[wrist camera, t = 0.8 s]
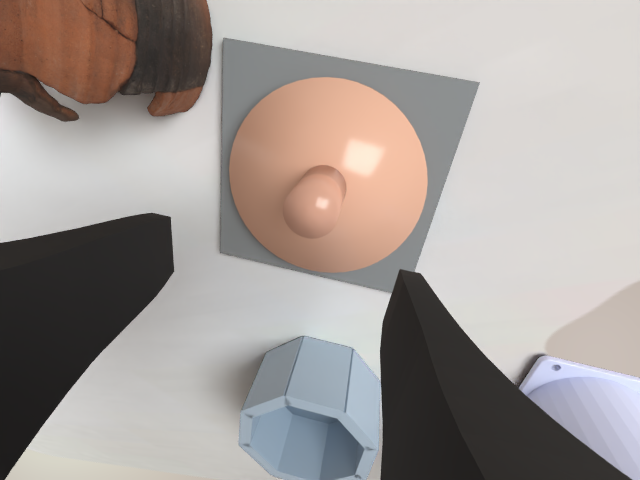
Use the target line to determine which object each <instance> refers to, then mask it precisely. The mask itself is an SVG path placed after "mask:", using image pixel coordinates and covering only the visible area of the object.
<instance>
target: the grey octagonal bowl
mask: <svg viewBox="0 0 640 480" xmlns="http://www.w3.org/2000/svg"><path fill="white" fill-rule="evenodd" d="M379 415H380V381H379V379H378V378H377V377H376V376H375V374H374V373H373V372H372V371H371V370H370V368H369V367H368V366H367V365H366V363H365V362H364V361H363V360H362V358H361V357H360V356H359V355H358V354H357V352H356V351H355V350H354V349H352V348H350V347H346V346H342V345H338V344H334V343H330V342H326V341H322V340H318V339H314V338H310V337H306V336H304V337H303V336H302V337H299V338H297V339H295V340H293V341H290V342H288V343H286V344H284V345H281V346H279V347H277V348H275V349H272V350H270V351H268V352H267V353H266V354H265V357H264V359H263V361H262V363H261V366H260V368H259V370H258V373H257V375H256V377H255V380H254V382H253V384H252V387H251V389H250V391H249V394H248V396H247V398H246V401H245V403H244V405H243V408H242V410H241V414H240V429H239V446H240V447H241V448H242V449H243V450H244V451H245V452H247V453H248V454H249V455H250V456H251V457H252V458H253V459H254V460H255V461H256V462H257V463H258V464H259V465H260V466H262V467H263V468H264V469H265V470H266V471H267V472H268V473H269V474H270V475H273V476H274V477H277V478H281V479H284V480H367V477H368V475H369V472H370V470H371V467H372V465H373V463H374V460H375V458H376V455H377V453H378V450H379Z"/></svg>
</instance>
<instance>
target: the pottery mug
mask: <svg viewBox="0 0 640 480" xmlns="http://www.w3.org/2000/svg"><path fill="white" fill-rule="evenodd" d="M211 49H212V27H211V23H210V14H209V9H208V5H207V1H206V0H0V95H1V93H11V94H13V95H14V96H16V97H17V98H19V99H20V100H21V101H22V102H24V103H25V104H27V105H28V106H31V107H32V108H34V109H35V110H37V111H39V112H41V113H44V114H47V115H49V116H52V117H55V118H57V119H59V120H61V121H65V122H67V121H76V120H78V119H79V116H78V114H77V113H76V112H75V111H73V110H71V109H69V108H67V107H65V106H62V105H60V104H59V103H58V101H57V100H55V99H54V98H53V97H51V96H50V95H49V94H48V93H47V91H46V90H45V89H44V88H43V87H42V85H41V84H40V82H39V81H38V80H40V81H41V82H43V83H44V84H45V85H47V86H50V87H52V88H54V89H56V90H57V91H58V92H60V93H62V94H64V95H66V96H68V97H70V98H73V99H74V100H76V101H78V102H80V103H83V104H89V103H93V104H99V103H105V102H107V101H109V100H110V99H111V98H112V97H113V96H114V95H115V94H116V93H117V92H120V93H121V94H122V95H139V94H141V93H154V92H156V93H155V96H154V98H153V100H152V102H151V103H150V105H149V106H148V107H147V109H148V111H149V113H150V114H151V115H152V116H165V115H169V114H174V113H177V112H185V111H188V110H189V109H190V108H191V107H192V106H193V105H194V103H195V102H196V100H197V99H198V97H199V95H200V93H201V91H202V87H203V85H204V83H205V81H206V77H207V72H208V69H209V67H210V63H211ZM37 79H38V80H37Z"/></svg>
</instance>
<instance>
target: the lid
mask: <svg viewBox="0 0 640 480" xmlns="http://www.w3.org/2000/svg"><path fill="white" fill-rule="evenodd" d="M229 175H230V185H231V191H232V195H233V199H234V202H235V205H236V207H237V210H238V212H239V214H240V216H241V218H242V220H243V221H244V223H245V225H246V226H247V228H248V229H249V230H250V232H251V233H252V235H253V236H254V237H255V238H256V239H257V240H258V241H259V242H260V243H261V244H262V245H263V246H264V247H265V248H267V249H268V250H269V251H270V252H272V253H273V254H275V255H276V256H277V257H279V258H281V259H283V260H285V261H286V262H288V263H291V264H293V265H295V266H298V267H301V268H304V269H308V270H312V271H318V272H328V273H338V272H348V271H354V270H358V269H361V268H365V267H367V266H370V265H372V264H374V263H377V262H378V261H380V260H382V259H384V258H385V257H387V256H388V255H390V254H391V253H392V252H393V251H395V250H396V249H397V248H398V247H399V246H400V245H401V244H402V243H403V242H404V241H405V240H406V239H407V237H408V236H409V235H410V233H411V232H412V231H413V229H414V227H415V225H416V224H417V222H418V220H419V218H420V215H421V213H422V210H423V207H424V203H425V199H426V194H427V184H428V178H427V165H426V160H425V155H424V152H423V149H422V146H421V143H420V140H419V138H418V136H417V134H416V132H415V130H414V128H413V126H412V125H411V123H410V122H409V120H408V119H407V117H406V116H405V115H404V113H403V112H402V111H401V110H400V109H399V108H398V107H397V106H396V105H395V104H394V103H393V102H392V101H390V100H389V99H388V98H387V97H385V96H384V95H383V94H381V93H379V92H378V91H376V90H374V89H373V88H371V87H369V86H366V85H364V84H361V83H359V82H356V81H352V80H348V79H344V78H335V77H317V78H309V79H304V80H299V81H296V82H293V83H290V84H287V85H284V86H282V87H281V88H279V89H277V90H275V91H273V92H272V93H270V94H269V95H267V96H266V97H265V98H263V99H262V100H261V101H260V102H259V103H258V104H257V105H256V106H255V107H254V108H253V109H252V110H251V111H250V113H249V114H248V115H247V117H246V118H245V119H244V121H243V123H242V124H241V126H240V128H239V130H238V132H237V135H236V137H235V140H234V143H233V146H232V151H231V155H230V165H229Z"/></svg>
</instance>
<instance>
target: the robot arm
mask: <svg viewBox="0 0 640 480" xmlns="http://www.w3.org/2000/svg"><path fill="white" fill-rule="evenodd" d="M173 272H174V263H173V247H172V232H171V217H168V216H164V215H159V214H155V213H147V214H140V215H134V216H129V217H125V218H120V219H116V220H111V221H107V222H103V223H98V224H94V225H90V226H85V227H81V228H77V229H72V230H67V231H62V232H57V233H52V234H48V235H43V236H38V237H33V238H28V239H22V240H16V241H10V242H4V243H0V480H5V478H6V477H7V475H8V474H9V472H10V471H11V469H12V468H13V466H14V465H15V464H16V462H17V461H18V459H19V458H20V457H21V455H22V454H23V452H24V451H25V450H26V448H27V447H28V445H29V444H30V442H31V441H32V440H33V438H34V437H35V435H36V434H37V433H38V431H39V430H40V428H41V427H42V426H43V424H44V423H45V422H46V420H47V419H48V418H49V416H50V415H51V414H52V412H53V411H54V410H55V408H56V407H57V406H58V404H59V403H60V402H61V401H62V399H63V398H64V397H65V395H66V394H67V393H68V391H69V390H70V389H71V388H72V386H73V385H74V384H75V383H76V382H77V380H78V379H79V378H80V377H81V375H82V374H83V373H84V372H85V370H86V369H87V368H88V367H89V365H90V364H91V363H92V362H93V361H94V360H95V359H96V358H97V356H98V355H99V354H100V353H101V352H102V351H103V350H104V349H105V348H106V347H107V346H108V345H109V344H110V343H111V342H112V341H113V340H114V339H115V338H116V337H117V336H118V335H119V334H120V333H121V332H122V331H123V330H124V329H125V328H126V327H127V326H128V325H129V324H130V323H131V321H132V320H133V319H134V318H135V317H136V316H137V315H138V314H139V313H140V312H141V311H142V310H143V309H144V308H145V307H146V306H147V305H148V304H149V303H150V302H151V301H152V300H153V299H154V298H155V297H156V296H157V294H158V293H159V292H160V290H161V289H162V288H163V286H164V285H165V284H166V282H167V281H168V279H169V278H170V276H171V275H172V274H173ZM380 364H381V391H382V417H383V446H382V463H381V480H640V378H639V377H635V376H631V375H627V374H622V373H618V372H614V371H610V370H605V369H601V368H597V367H593V366H589V365H585V364H581V363H577V362H572V361H568V360H564V359H560V358H556V357H551V356H541V357H539V358H538V359H537V361H536V362H535V364H534V365H533V367H532V368H531V370H530V371H529V373H528V374H527V376H526V378H525V379H524V381H523V382H522V384H521V385H520V387H519V388H517V387H516V386H515V385H514V384H513V383H512V382H511V381H510V380H509V379H508V378H507V377H506V376H505V375H504V374H503V373H502V372H501V371H500V370H499V369H498V368H497V367H496V366H495V365H494V364H493V363H492V362H491V361H490V360H489V359H488V358H487V357H486V356H485V355H484V354H483V353H482V352H481V351H480V349H479V348H478V347H477V346H476V345H475V344H474V343H473V341H472V340H471V339H470V338H469V337H468V336H467V334H466V333H465V332H464V331H463V330H462V329H461V327H460V326H459V325H458V324H457V322H456V321H455V320H454V319H453V317H452V316H451V315H450V313H449V312H448V311H447V309H446V308H445V307H444V305H443V304H442V303H441V301H440V300H439V298H438V297H437V296H436V294H435V293H434V291H433V290H432V289H431V287H430V286H429V284H428V283H427V282H426V280H425V279H424V277H423V276H422V275H421V274H420V273H416V272H411V271H407V270H403V269H399V273H398V276H397V279H396V282H395V285H394V288H393V291H392V295H391V298H390V301H389V304H388V307H387V310H386V313H385V316H384V320H383V325H382V335H381V347H380ZM553 365H556V366H553Z"/></svg>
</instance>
